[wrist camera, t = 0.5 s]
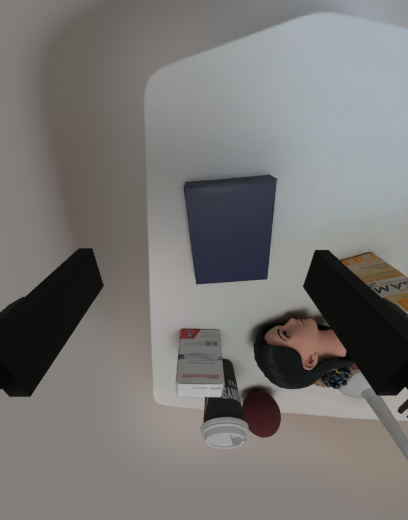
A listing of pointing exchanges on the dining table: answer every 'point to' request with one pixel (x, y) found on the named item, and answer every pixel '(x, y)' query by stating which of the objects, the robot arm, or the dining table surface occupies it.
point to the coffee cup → (225, 415)
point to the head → (298, 352)
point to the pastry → (338, 377)
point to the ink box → (199, 364)
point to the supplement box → (381, 278)
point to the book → (230, 227)
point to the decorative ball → (261, 413)
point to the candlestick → (376, 408)
